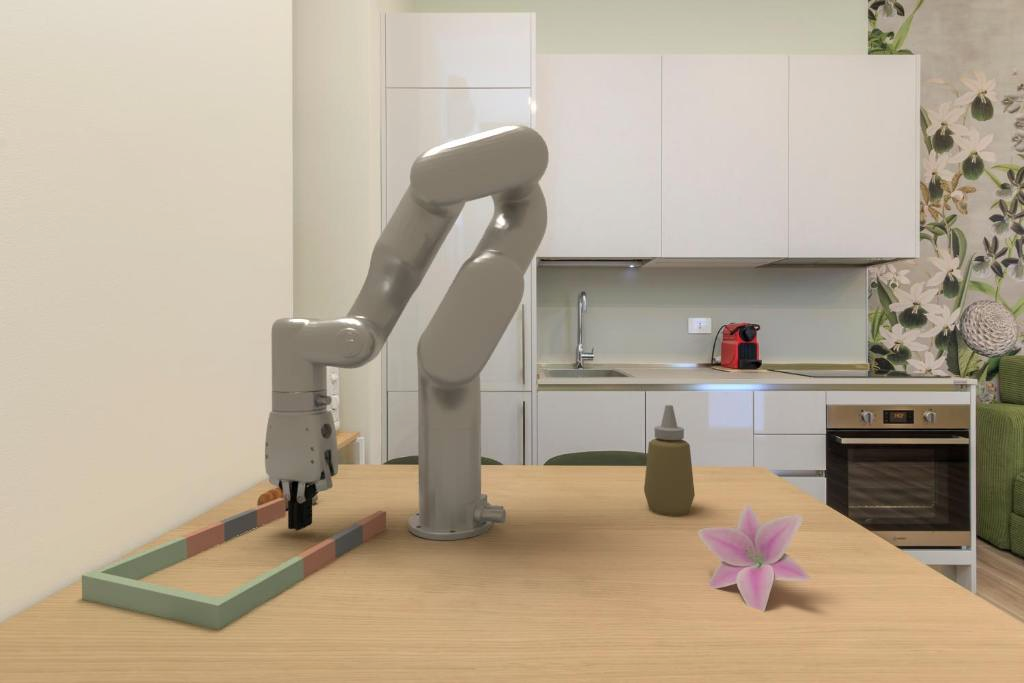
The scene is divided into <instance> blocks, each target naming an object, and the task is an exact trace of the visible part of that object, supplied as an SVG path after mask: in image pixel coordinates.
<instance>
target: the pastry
mask: <svg viewBox="0 0 1024 683" xmlns="http://www.w3.org/2000/svg"><path fill="white" fill-rule="evenodd" d="M308 486H309V485H308ZM308 486H307V487H308ZM278 498H284V494H283V492H282V490H281V489H280V487H278V486H276V488H275V487H274V488H272V489H269V490H267V491H266V492H264V493H262V494H261V495H260V496H258V500H257V503H256V505H257V506H260V505H263V504H265V503H268V502H270V501H273V500H275V499H278ZM318 499H319V496H318V493H317V494H316V497H315V498H313V499H312V504H313V505H315V504H316V502H317V501H318ZM285 508H286V510H288V501H285Z"/></svg>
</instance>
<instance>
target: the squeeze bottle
mask: <svg viewBox="0 0 1024 683" xmlns="http://www.w3.org/2000/svg"><path fill="white" fill-rule="evenodd" d="M676 419H677V418H676V415H675V410H674V406H673V405H670V404H668V405H667V404H666V405H665V407H664V409H663V415H662V419H661V422H660V423H661V424H660V425H656V426H654V438H653V439H651V440H650V441H649V442H648V446H647V449H648V450H647V459H646V466H645V467H646V468H645V477H644V485H643V486H644V487H643V492H644V496H645V499H646V502H647V505H648V507H649V508H648V509H649V511H651V512H652V513H656V514H658V515H663V516H675V517H676V516H683V515H686V514H689V512H690V510H691V507H692V505H693V501H694V499H695V496H696V495H695V484H694V476H693V475H694V474H693V464H692V463H693V462H692V456H691V454H692V453H691V445H690V444H689V442H687V441H686V440H684V439H685V436H684V435H685V429H684V427H681V426H678V423H677V420H676Z"/></svg>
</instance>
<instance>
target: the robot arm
mask: <svg viewBox="0 0 1024 683" xmlns="http://www.w3.org/2000/svg"><path fill="white" fill-rule="evenodd" d="M548 148H549V147H548V145H547V143H546V140H544V138H543V136H542V135H541V134H539V132H538V131H536V130H535V129H533V128H531V127H530V126H529V127H528V126H527V125H521V124H520V125H519V124H517V125H516V124H515V125H513V124H512V125H511V124H510V125H506V126H503V127H502V126H501V127H497V128H493V129H491V130H487V131H484V132H480V133H477V134H473V135H470V136H467V137H464V138H459V139H455V140H452V141H449V142H445V143H442V144H438V145H436V146H433V147H430V148H429V149H427V150H425V151H423V152H422V153H420V154H419V156H417V157H416V159H415V160H414V162H413V163H412V165H411V168H410V174H409V180H410V181H409V182H410V183H409V186H408V187H407V189H406V191H405V192H404V194H403V196H402V198H401V199H400V200H399V201H400V202H399V203H398V204H397V207H396V208H395V210H394V212H393V214H392V215H391V217H390V219H389V220H388V222H387V223H386V226H385V227H384V229H383V230H382V232H381V234H380V235H379V237H378V239H377V241H376V243H375V245H374V247H373V248H372V249H373V250H372V253H371V255H370V256H371V257H370V261H369V262H370V263H369V267H368V268H369V269H368V270H367V271H368V272H367V275H366V278H365V280H364V283H363V284H362V287H361V289H360V291H359V293H358V295H357V297H356V299H355V300H354V303H353V304H352V306H351V308H350V309H349V311H348V313H347V314H346V316H343V317H336V318H335V317H334V318H327V319H326V318H325V319H319V318H316V317H315V318H313V317H312V318H311V317H283V318H278V319H276V320H274V322H273V323H272V326H271V333H270V334H271V335H270V336H271V411H270V412H269V414H268V420H267V426H266V431H265V432H266V433H265V442H264V443H265V445H264V467H265V474H266V475H267V476H269V477H268V482H269V484H271V485H274V486H276V487H280V489H281V490H282V492H283V494H284V499H285V501H288V509H287V524H288V525H287V528H288V529H289V530H295V531H301V530H303V529H304V528H306V527H309V526H312V523H313V505H312V499H313V498H315V497H316V494H317V495H318V493H319V492H325V491H326V490H330V489H332V488H333V480H332V477H335V476H336V475H337V474H338V471H339V452H338V439H337V432H336V431H337V430H336V426H335V422H334V421H335V420H334V416H333V413H332V411H330V410H328V406H330V405H331V404H332V402H333V401H332V397H331V396H330V395H327V394H328V389H327V388H328V387H327V386H328V385H327V383H328V381H327V379H328V377H327V376H328V375H327V374H328V373H327V372H328V371H327V370H328V369H327V367H332V368H339V369H350V370H351V369H358V368H362V367H363V366H366V365H367V364H369V363H370V362H372V361H373V360H374V359H376V358H377V357H378V355H379V354H380V353H381V350H382V349H383V347H384V346H385V344H386V342H387V341H388V340H389V337H390V335H391V333H392V331H393V330H394V328H395V327H396V324H398V321H399V319H400V317H401V316H402V314H403V312H404V310H405V309H406V307H407V306H408V303H409V302H410V300H411V299H412V297H413V295H414V294H415V292H416V291H417V290H418V289H419V286H420V285H421V283H422V282H423V280H424V278H425V276H426V274H427V272H428V271H429V269H430V267H431V265H432V264H433V262H434V260H435V258H436V256H437V255H438V253H439V251H440V250H441V248H442V246H443V244H444V242H445V240H446V238H447V237H448V235H449V233H450V232H451V231H452V229H453V227H454V226H455V223H456V222H457V220H458V218H459V216H460V215H461V212H462V211H463V209H464V208H465V206H466V203H468V202H472V201H475V200H479V199H483V198H486V197H490V196H491V198H492V202H493V208H494V210H493V215H492V218H491V220H490V222H489V223H488V225H487V226H486V228H485V230H484V232H483V235H482V237H481V239H480V240H479V242H478V244H477V245H476V247H475V249H474V251H473V252H472V254H471V256H470V257H468V258H467V259H466V260H465V261H464V262H463V264H461V265H460V266H461V267H460V268H459V269H458V272H457V273H456V275H455V276H454V278H453V281H452V282H451V284H450V286H449V287H448V289H447V291H446V293H445V294H444V297H443V298H442V300H441V302H440V304H439V305H438V306H437V307H436V308H437V309H436V310H435V312H434V314H433V315H432V317H431V319H430V320H429V322H428V324H427V326H426V327H425V329H424V331H423V332H422V333H421V335H420V337H419V340H418V342H417V346H416V358H417V359H416V361H417V363H416V364H417V395H418V396H417V397H418V398H417V399H418V400H417V403H418V404H417V406H418V410H417V411H418V412H417V413H418V415H417V416H418V421H417V422H418V425H417V427H418V428H417V430H418V431H417V437H418V440H417V441H418V444H417V445H418V448H417V450H418V453H417V454H418V511H417V512H416V513H414V514H412V515H411V517H409V519H408V530H409V531H410V532H411V533H412V534H413V535H415V536H416V537H418V538H422V539H427V540H434V541H457V540H465V539H471V538H474V537H476V536H479V535H482V534H484V533H485V532H488V530H490V528H491V526H492V524H493V523H495V524H501V525H502V524H505V522H506V518H507V514H506V513H507V512H506V510H505V508H504V505H498V504H495V505H494V504H490V503H489V502H488V494H486V493H482V443H481V442H482V439H481V438H482V397H481V396H482V395H481V394H482V393H481V391H482V390H481V373H482V371H483V370H484V368H485V367H486V365H487V363H488V362H489V360H490V359H491V357H492V355H493V353H494V352H495V350H496V348H497V347H498V344H499V343H500V341H501V339H502V337H503V336H504V334H505V333H506V331H507V329H508V326H510V324H511V321H512V320H513V318H514V316H515V315H516V312H517V311H518V309H519V307H520V304H521V302H522V300H523V298H524V292H525V279H524V278H525V277H524V276H525V275H526V273H527V271H528V269H529V267H530V265H531V264H532V261H533V259H534V257H535V255H536V253H537V251H538V250H539V247H540V246H541V243H542V241H543V239H544V236H545V233H546V229H547V225H548V207H547V202H546V198H545V195H544V192H543V189H542V188H541V186H540V184H539V183H540V181H541V180H542V178H543V177H544V175H545V173H546V170H547V169H548V164H549V162H550V161H549V157H550V156H549V149H548ZM308 485H309V486H308ZM307 486H308V487H307Z"/></svg>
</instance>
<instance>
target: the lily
mask: <svg viewBox="0 0 1024 683" xmlns="http://www.w3.org/2000/svg"><path fill="white" fill-rule="evenodd" d="M803 520H804V518H803V515H801V514H790V515H785V516H781V517H777V518H774V519H771V520H768V521H766V522H764V523H763V524H762V522H761V519H760V518H759V517H758V515H757V513H756V512H755V511H754V509H753V507H751V505H749V504H748V503H746V504H745V505H744V507H743V508H742V510H741V513H740V515H739V518H738V522H737V525H736V528H733V527H729V526H712V527H704V528H701V529H699V530H698V531H697V535H698V536H699V539H701V541H702V542H703V544H705V546H706V547H707V548H708V549H709V550H710V551H711V552H712V553H713V554H714V555H715V557H717V558H719V559H720V561H721V562H720V563H719V565H718V566H717V567H716V568H715V571H714V572H713V573H712V575H711V578H710V580H709V582H708V583H707V584H708V585H707V586H708V587H710V588H713V589H720V588H725V587H728V586H733V585H735V584H736V585H737V586H736V587H737V588H738V590H739V593H740V594H741V597H742V599H743V600H744V602H745V604H746V606H748V607H751V608H754V609H757V610H759V611H761V612H765V610H766V607H767V603H768V600H769V597H770V595H771V594H770V593H771V590H772V587H773V585H774V580H777V581H785V582H808V581H810V580H811V577H810V575H809V574H808V573H807V571H806V570H805V569H804V568H803V567H802V566H801V565H800V564H799V563H798V562H797V561H795V560H794V559H793V557H791V556H789V555H788V554H786V552H787V551H788V548H789V546H790V544H791V542H792V541H793V539H794V538H795V535H797V532H798V530H799V528H800V527H801V525H802V522H803Z"/></svg>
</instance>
